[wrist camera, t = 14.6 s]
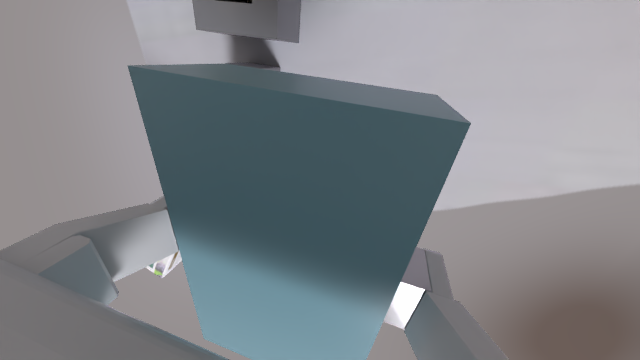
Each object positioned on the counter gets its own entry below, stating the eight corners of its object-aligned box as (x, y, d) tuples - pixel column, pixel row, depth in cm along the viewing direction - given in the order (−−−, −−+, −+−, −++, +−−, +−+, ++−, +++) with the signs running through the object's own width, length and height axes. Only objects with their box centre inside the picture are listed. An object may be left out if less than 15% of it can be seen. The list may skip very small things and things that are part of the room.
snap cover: (227, 63, 7) (127, 65, 4) (436, 95, 6) (471, 123, 3) (245, 278, 12) (203, 338, 9) (359, 319, 11) (347, 401, 8)
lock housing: (222, -68, 21) (177, -102, 16) (304, -67, 19) (278, -103, 15) (237, 128, 30) (210, 139, 26) (293, 140, 28) (275, 154, 24)
